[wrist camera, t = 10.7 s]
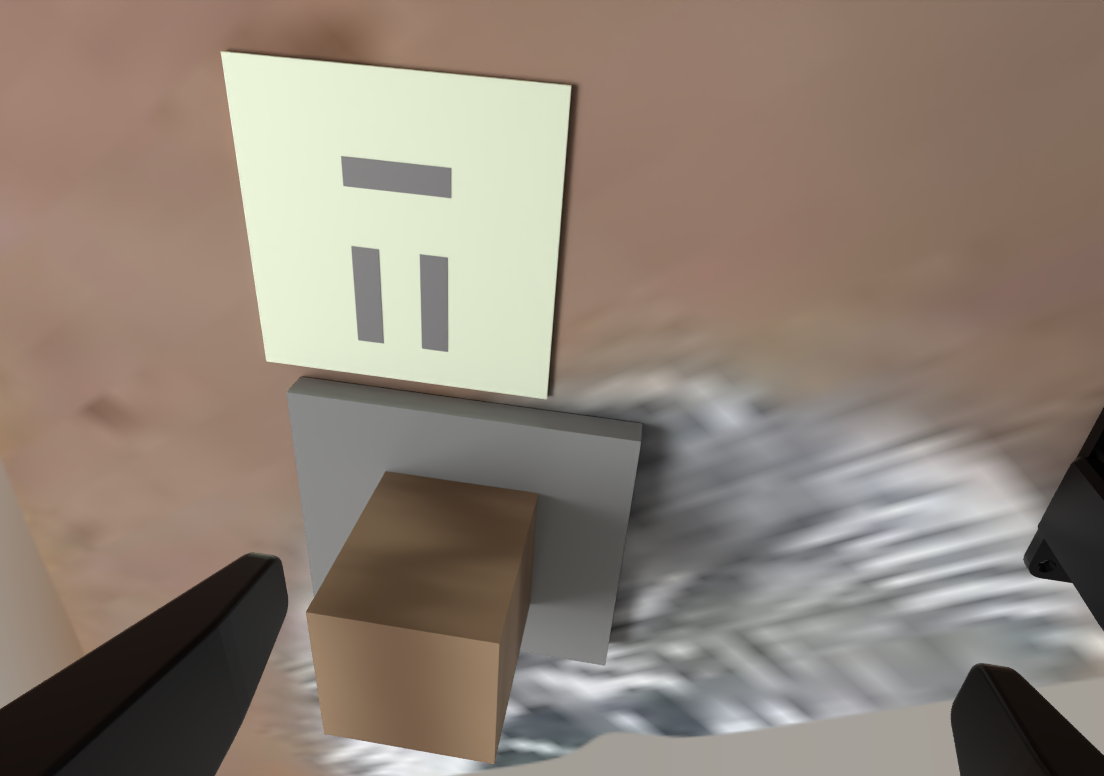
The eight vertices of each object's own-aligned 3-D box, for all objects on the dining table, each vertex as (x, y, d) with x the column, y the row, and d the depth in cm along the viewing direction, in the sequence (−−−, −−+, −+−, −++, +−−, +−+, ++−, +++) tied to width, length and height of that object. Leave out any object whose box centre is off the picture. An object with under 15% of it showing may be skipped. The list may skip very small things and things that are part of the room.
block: (537, 493, 23) (499, 643, 18) (530, 604, 26) (494, 764, 21) (385, 471, 24) (306, 612, 19) (392, 582, 26) (324, 733, 21)
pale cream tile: (571, 84, 18) (570, 85, 18) (547, 396, 23) (546, 399, 23) (224, 51, 19) (220, 51, 19) (268, 359, 23) (266, 361, 23)
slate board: (642, 423, 23) (641, 441, 22) (607, 643, 28) (605, 665, 27) (300, 376, 24) (286, 392, 23) (327, 597, 29) (316, 617, 28)
